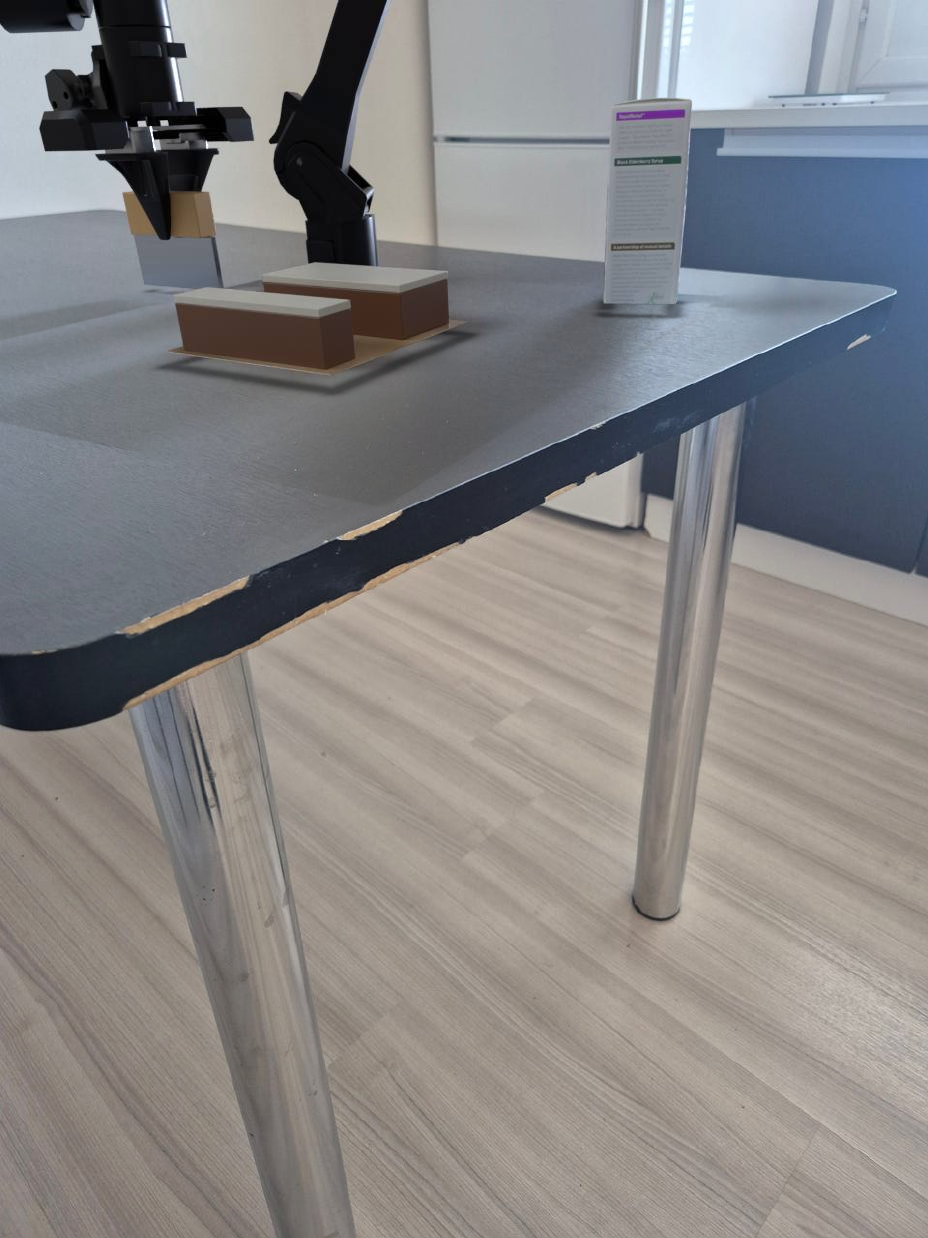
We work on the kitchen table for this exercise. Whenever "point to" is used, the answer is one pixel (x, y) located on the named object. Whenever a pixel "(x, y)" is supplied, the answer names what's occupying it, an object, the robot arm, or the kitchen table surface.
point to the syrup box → (646, 200)
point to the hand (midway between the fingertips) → (175, 238)
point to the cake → (372, 295)
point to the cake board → (364, 352)
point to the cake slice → (266, 326)
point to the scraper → (178, 242)
